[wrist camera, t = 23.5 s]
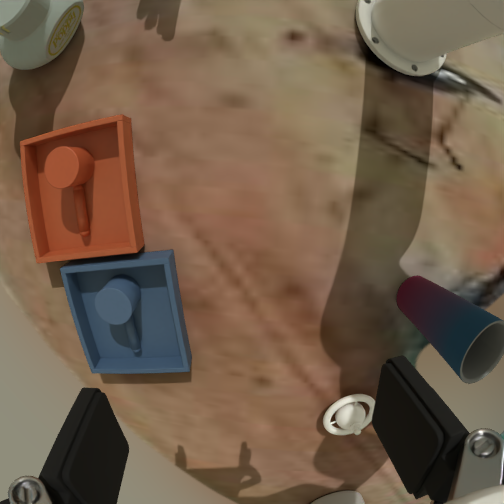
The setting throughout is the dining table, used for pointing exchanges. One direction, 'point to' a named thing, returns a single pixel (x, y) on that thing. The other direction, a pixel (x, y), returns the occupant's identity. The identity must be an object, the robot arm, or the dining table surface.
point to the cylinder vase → (341, 498)
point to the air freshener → (36, 30)
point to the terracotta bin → (95, 190)
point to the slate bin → (145, 314)
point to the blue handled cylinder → (120, 305)
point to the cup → (454, 327)
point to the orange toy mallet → (71, 177)
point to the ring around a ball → (349, 414)
